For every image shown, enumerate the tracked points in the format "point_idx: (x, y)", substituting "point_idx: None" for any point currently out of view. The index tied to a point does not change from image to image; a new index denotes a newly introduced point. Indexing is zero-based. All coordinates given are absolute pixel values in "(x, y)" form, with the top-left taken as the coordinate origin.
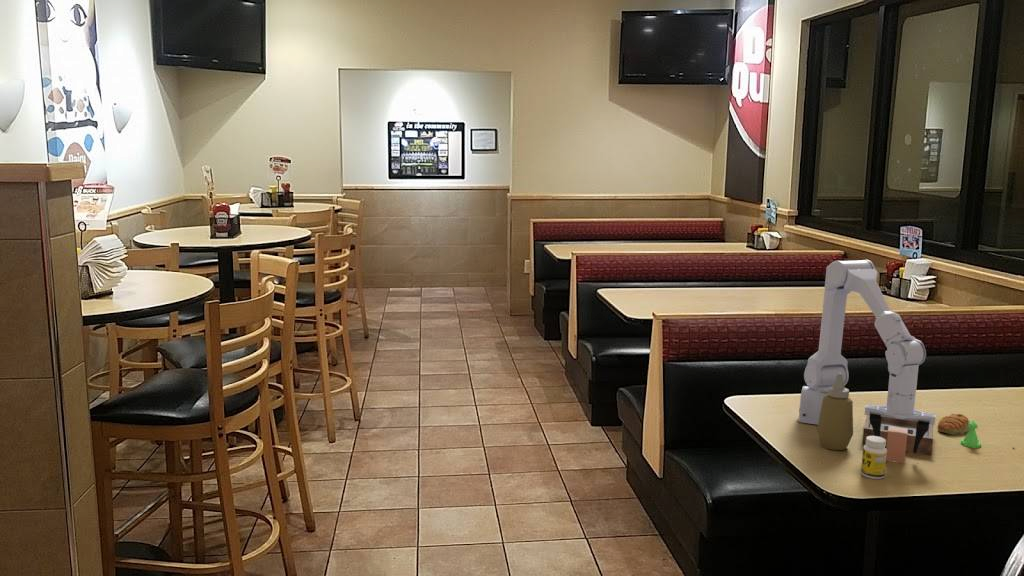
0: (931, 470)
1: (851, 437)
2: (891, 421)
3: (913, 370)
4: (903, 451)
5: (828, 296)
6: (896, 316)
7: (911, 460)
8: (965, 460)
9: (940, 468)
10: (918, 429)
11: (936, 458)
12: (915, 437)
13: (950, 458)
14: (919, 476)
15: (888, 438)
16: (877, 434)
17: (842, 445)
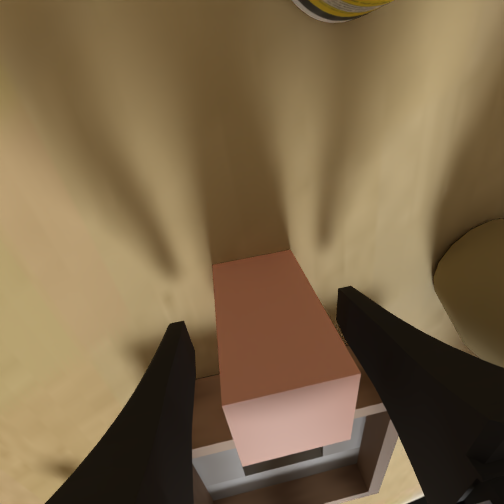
0: (82, 258)
1: (471, 296)
2: (307, 481)
3: None
4: (225, 300)
5: None
6: None
7: (196, 310)
8: (44, 415)
9: (65, 304)
10: (119, 495)
11: (128, 377)
12: (179, 414)
13: (91, 402)
14: (84, 126)
15: (328, 329)
16: (399, 331)
17: (481, 243)
